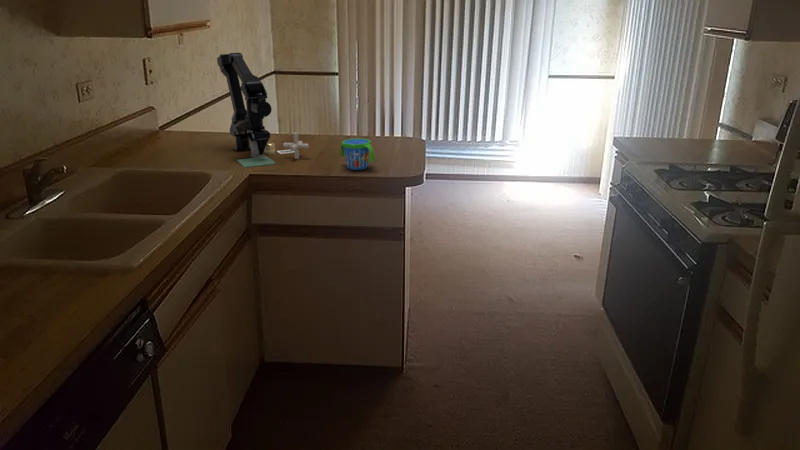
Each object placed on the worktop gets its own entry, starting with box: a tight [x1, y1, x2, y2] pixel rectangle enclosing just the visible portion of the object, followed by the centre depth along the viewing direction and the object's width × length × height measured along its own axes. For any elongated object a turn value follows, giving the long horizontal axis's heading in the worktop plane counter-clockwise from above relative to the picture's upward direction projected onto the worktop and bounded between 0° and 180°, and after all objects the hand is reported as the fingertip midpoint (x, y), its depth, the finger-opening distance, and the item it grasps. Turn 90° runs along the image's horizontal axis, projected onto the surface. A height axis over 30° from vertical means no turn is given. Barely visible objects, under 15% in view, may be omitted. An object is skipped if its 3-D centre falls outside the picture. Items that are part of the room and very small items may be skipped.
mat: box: [236, 156, 277, 169], centre depth 238 cm, size 12×12×1 cm
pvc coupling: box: [250, 141, 264, 158], centre depth 246 cm, size 5×5×6 cm
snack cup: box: [339, 137, 376, 171], centre depth 228 cm, size 16×10×10 cm
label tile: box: [276, 149, 294, 155], centre depth 254 cm, size 5×8×1 cm, turn 117°
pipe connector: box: [283, 132, 310, 160], centre depth 242 cm, size 10×10×10 cm
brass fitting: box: [264, 142, 276, 156], centre depth 251 cm, size 4×4×4 cm
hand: (257, 152), depth 245 cm, fingers open, 9 cm apart
